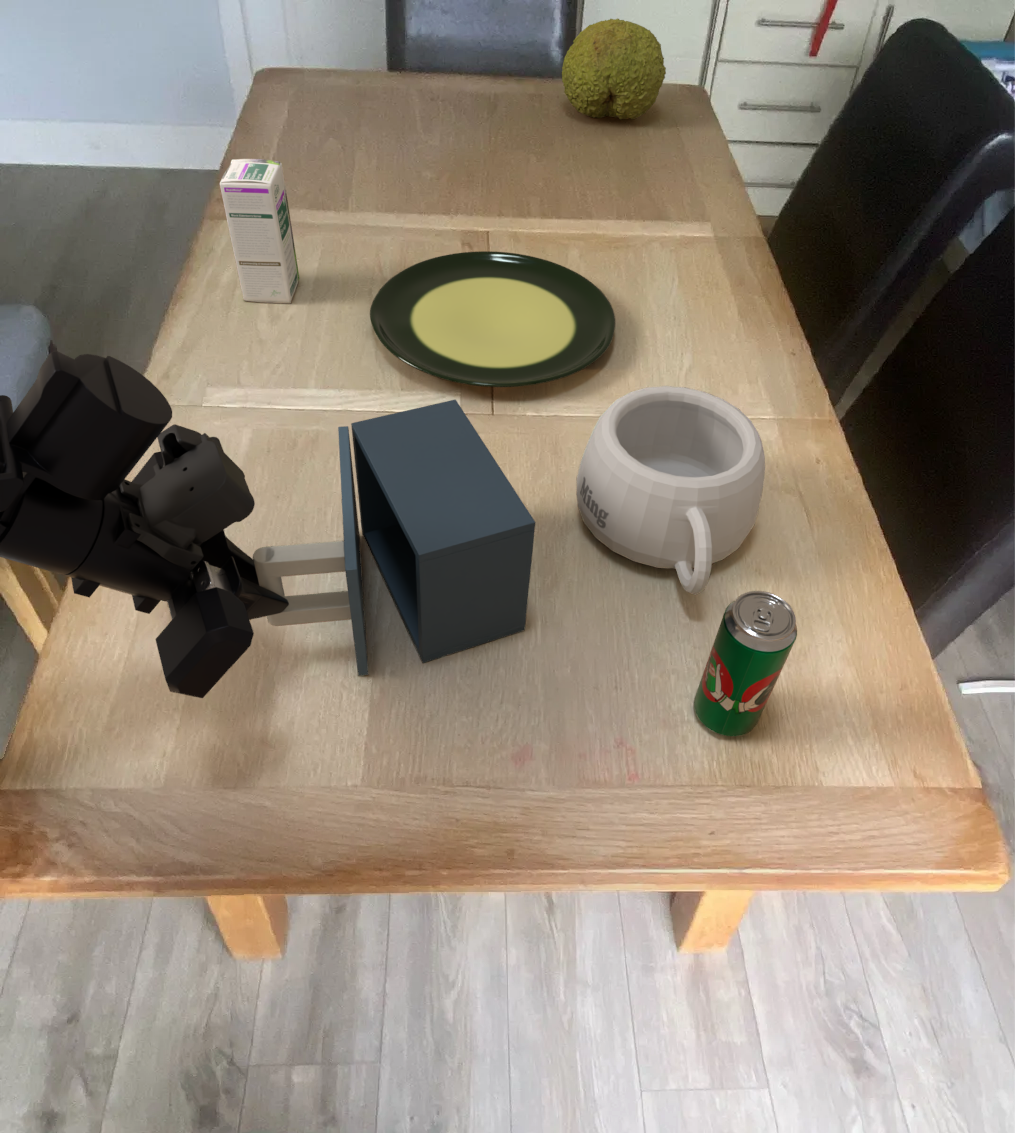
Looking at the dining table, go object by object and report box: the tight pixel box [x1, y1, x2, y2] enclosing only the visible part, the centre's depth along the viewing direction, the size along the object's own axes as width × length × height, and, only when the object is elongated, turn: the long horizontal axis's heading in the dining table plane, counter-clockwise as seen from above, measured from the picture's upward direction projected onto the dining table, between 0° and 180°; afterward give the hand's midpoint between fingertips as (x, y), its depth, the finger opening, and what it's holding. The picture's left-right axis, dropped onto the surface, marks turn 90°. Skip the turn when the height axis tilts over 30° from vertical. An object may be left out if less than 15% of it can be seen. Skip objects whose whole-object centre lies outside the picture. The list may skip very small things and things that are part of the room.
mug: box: [576, 385, 766, 595], centre depth 80 cm, size 21×17×10 cm
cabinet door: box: [252, 425, 369, 676], centre depth 71 cm, size 7×16×12 cm, turn 9°
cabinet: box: [350, 399, 536, 664], centre depth 73 cm, size 9×16×13 cm, turn 24°
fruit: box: [561, 17, 667, 121], centre depth 145 cm, size 16×14×15 cm
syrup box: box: [218, 158, 300, 304], centre depth 103 cm, size 6×6×14 cm
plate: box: [369, 250, 616, 388], centre depth 104 cm, size 28×28×2 cm
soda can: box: [693, 590, 798, 737], centre depth 66 cm, size 5×5×12 cm
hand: (281, 597), depth 67 cm, fingers closed on cabinet door, 2 cm apart
